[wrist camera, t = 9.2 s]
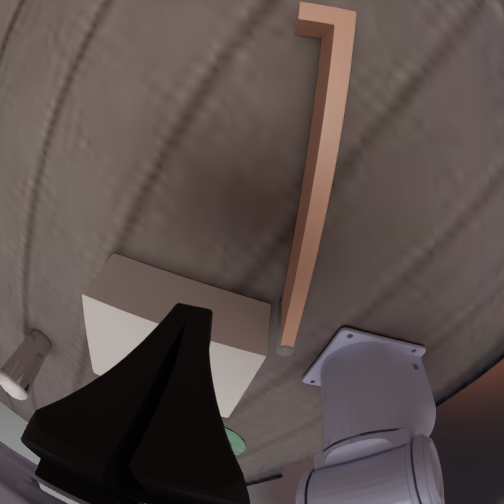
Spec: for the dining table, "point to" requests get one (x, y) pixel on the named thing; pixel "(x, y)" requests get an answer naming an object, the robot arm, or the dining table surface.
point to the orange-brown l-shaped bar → (316, 157)
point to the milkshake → (24, 365)
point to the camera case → (155, 310)
